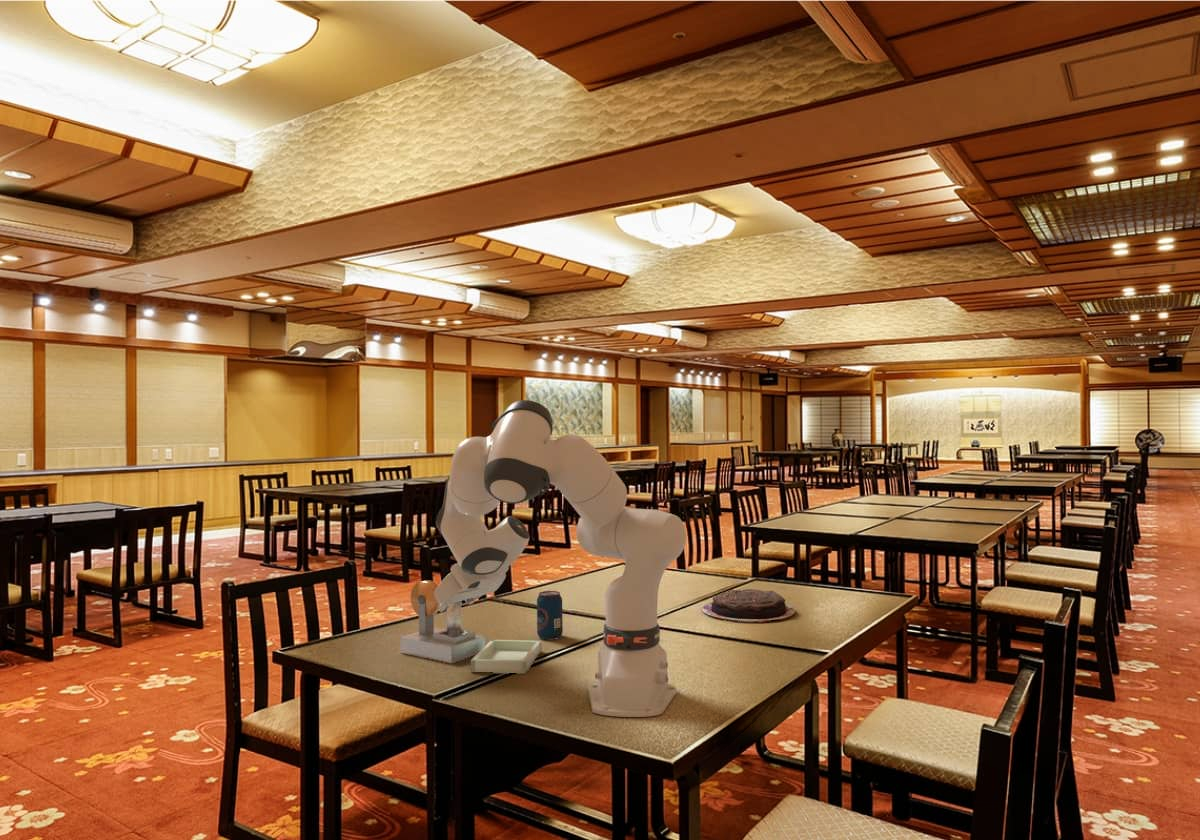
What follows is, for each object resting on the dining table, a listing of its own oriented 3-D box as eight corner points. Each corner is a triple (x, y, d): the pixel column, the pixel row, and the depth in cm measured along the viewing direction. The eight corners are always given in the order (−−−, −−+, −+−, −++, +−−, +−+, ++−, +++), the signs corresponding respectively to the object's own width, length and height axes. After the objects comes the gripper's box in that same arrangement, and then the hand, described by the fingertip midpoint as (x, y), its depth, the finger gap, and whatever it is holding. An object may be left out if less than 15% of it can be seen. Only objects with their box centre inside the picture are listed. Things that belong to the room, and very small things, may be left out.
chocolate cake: (699, 623, 225) (699, 600, 225) (703, 602, 252) (703, 582, 252) (798, 626, 220) (798, 603, 220) (792, 604, 247) (791, 583, 247)
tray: (525, 673, 178) (525, 661, 178) (470, 672, 180) (470, 660, 180) (541, 651, 196) (541, 640, 196) (491, 650, 198) (491, 639, 198)
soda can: (532, 637, 211) (531, 592, 211) (552, 632, 215) (552, 589, 215) (547, 642, 205) (546, 596, 205) (567, 637, 210) (567, 593, 210)
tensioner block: (485, 651, 197) (484, 582, 197) (451, 663, 187) (450, 591, 187) (431, 641, 208) (430, 575, 208) (396, 651, 198) (396, 583, 198)
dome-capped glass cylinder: (460, 641, 192) (460, 590, 192) (441, 641, 193) (440, 590, 193) (466, 636, 197) (466, 586, 197) (447, 635, 198) (447, 586, 198)
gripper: (504, 554, 198) (476, 588, 204) (448, 565, 181) (418, 603, 186) (518, 573, 196) (489, 607, 201) (462, 586, 179) (431, 624, 184)
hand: (454, 605), depth 194 cm, fingers open, 8 cm apart
